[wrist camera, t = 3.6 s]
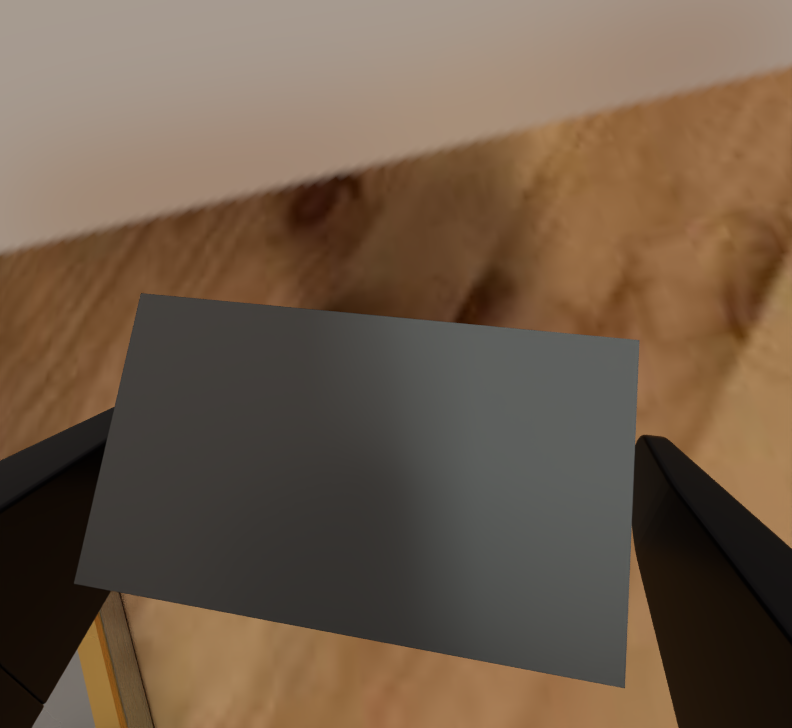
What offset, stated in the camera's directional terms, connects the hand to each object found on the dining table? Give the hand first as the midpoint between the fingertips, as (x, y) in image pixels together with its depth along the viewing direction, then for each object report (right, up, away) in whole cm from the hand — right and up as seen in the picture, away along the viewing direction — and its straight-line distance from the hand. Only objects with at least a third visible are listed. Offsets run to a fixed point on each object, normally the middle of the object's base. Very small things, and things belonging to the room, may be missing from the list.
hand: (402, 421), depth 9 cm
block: (+1, -2, +7) cm, 7 cm away
